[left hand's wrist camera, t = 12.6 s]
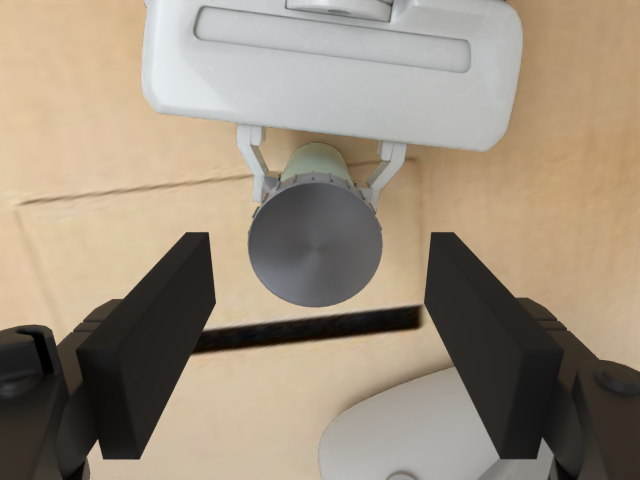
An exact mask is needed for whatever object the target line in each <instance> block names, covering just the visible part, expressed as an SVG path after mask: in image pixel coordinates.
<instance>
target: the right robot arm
mask: <svg viewBox="0 0 640 480" xmlns="http://www.w3.org/2000/svg"><path fill="white" fill-rule="evenodd" d="M505 1H507V0H144V3H145V6H146V8H147V12H146V19H145V27H144V37H143V48H142V71H141V87H142V93H143V95H144V97H145V98H146V100H147V101H148V102H149V104H150V105H151V107H152V108H153V109H154V110H155V112H157V113H158V114H164V115H172V116H180V117H189V118H197V119H206V120H214V121H222V122H231V123H238V125H237V145H238V147H239V149H240V151H241V153H242V155H243V157H244V159H245V161H246V163H247V165H248V167H249V169H250V171H251V173H252V174H253V175H254V190H253V202H257V203H262V200H263V198H264V196H265V194H266V193H267V192H268V193H269V192H270V191H271V190H272V189H273V188H274V187H275V186H277V184H278V182H279V181H280V179H281V172H275V171H268V168H267V165H266V163H265V161H264V159H263V157H262V154H261V152H260V150H259V148H258V146H259V145H260V144H262V143H263V142H264V141H265V137H266V127H273V128H282V129H290V130H298V131H307V132H315V133H324V134H332V135H341V136H349V137H358V138H366V139H375V140H378V145H377V152H376V154H377V155H378V156H379V157H380V158H381V159H382V161H381V163H380V164H379V165H378V167H377V168H376V169H375V170H374V172H373V173H372V174H371V176H370V177H369V178H368V180H367V182H363V181H354V186H355V187H356V188H358V190H360V189H361V190H362V191H363V194H364V196H365V198H366V199H367V200H368V202H369V203H371V204H372V206H373V208H374V210H375V212H376V211H377V205H378V199H379V193H380V189H383V188H384V186H385V185H386V184H387V183H388V182H389V180H390V179H391V178H392V177H393V176H394V175H395V173H396V172H397V171H398V170H399V169H400V167H401V166H402V165H403V164H404V160H405V154H406V149H407V144H417V145H425V146H434V147H442V148H451V149H459V150H467V151H476V152H487V151H488V150H490V149H491V148H492V147H493V146H494V145H495V144H496V143H497V142H498V141H500V140H501V139H502V138H503V136H504V135H505V133H506V130H507V127H508V124H509V121H510V117H511V113H512V109H513V104H514V100H515V95H516V90H517V85H518V79H519V73H520V67H521V60H522V52H523V28H522V23H521V20H520V17H519V15H518V13H517V12H516V10H515V9H514V8H513V7H512V6H511V5H510V4H509V3H507V2H505Z"/></svg>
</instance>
